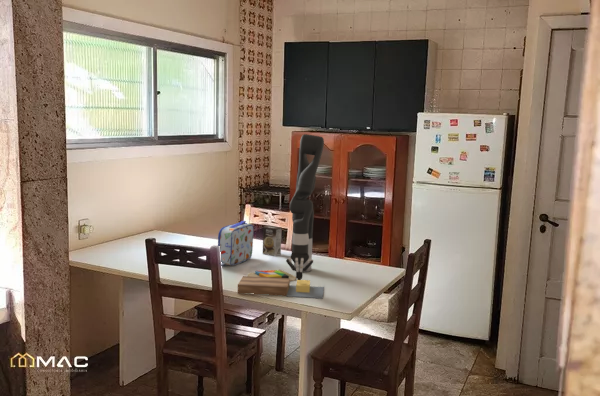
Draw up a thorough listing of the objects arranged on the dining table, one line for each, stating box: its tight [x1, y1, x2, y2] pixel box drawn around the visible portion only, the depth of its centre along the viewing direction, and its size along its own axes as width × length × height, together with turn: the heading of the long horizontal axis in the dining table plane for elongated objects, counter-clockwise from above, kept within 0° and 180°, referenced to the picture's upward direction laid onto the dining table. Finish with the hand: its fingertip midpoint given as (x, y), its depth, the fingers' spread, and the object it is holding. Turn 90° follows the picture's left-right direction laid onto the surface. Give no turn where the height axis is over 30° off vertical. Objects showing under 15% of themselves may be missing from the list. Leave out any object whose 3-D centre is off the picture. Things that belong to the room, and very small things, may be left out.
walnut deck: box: [237, 275, 291, 297], centre depth 252 cm, size 14×22×4 cm, turn 86°
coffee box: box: [262, 225, 283, 257], centre depth 320 cm, size 9×6×16 cm
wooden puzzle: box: [246, 269, 297, 282], centre depth 272 cm, size 18×19×4 cm
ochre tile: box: [295, 279, 311, 292], centre depth 254 cm, size 9×6×3 cm, turn 177°
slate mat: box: [285, 284, 325, 299], centre depth 251 cm, size 16×16×1 cm
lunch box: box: [217, 220, 255, 266], centre depth 300 cm, size 28×10×22 cm, turn 158°
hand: (299, 279), depth 253 cm, fingers closed
